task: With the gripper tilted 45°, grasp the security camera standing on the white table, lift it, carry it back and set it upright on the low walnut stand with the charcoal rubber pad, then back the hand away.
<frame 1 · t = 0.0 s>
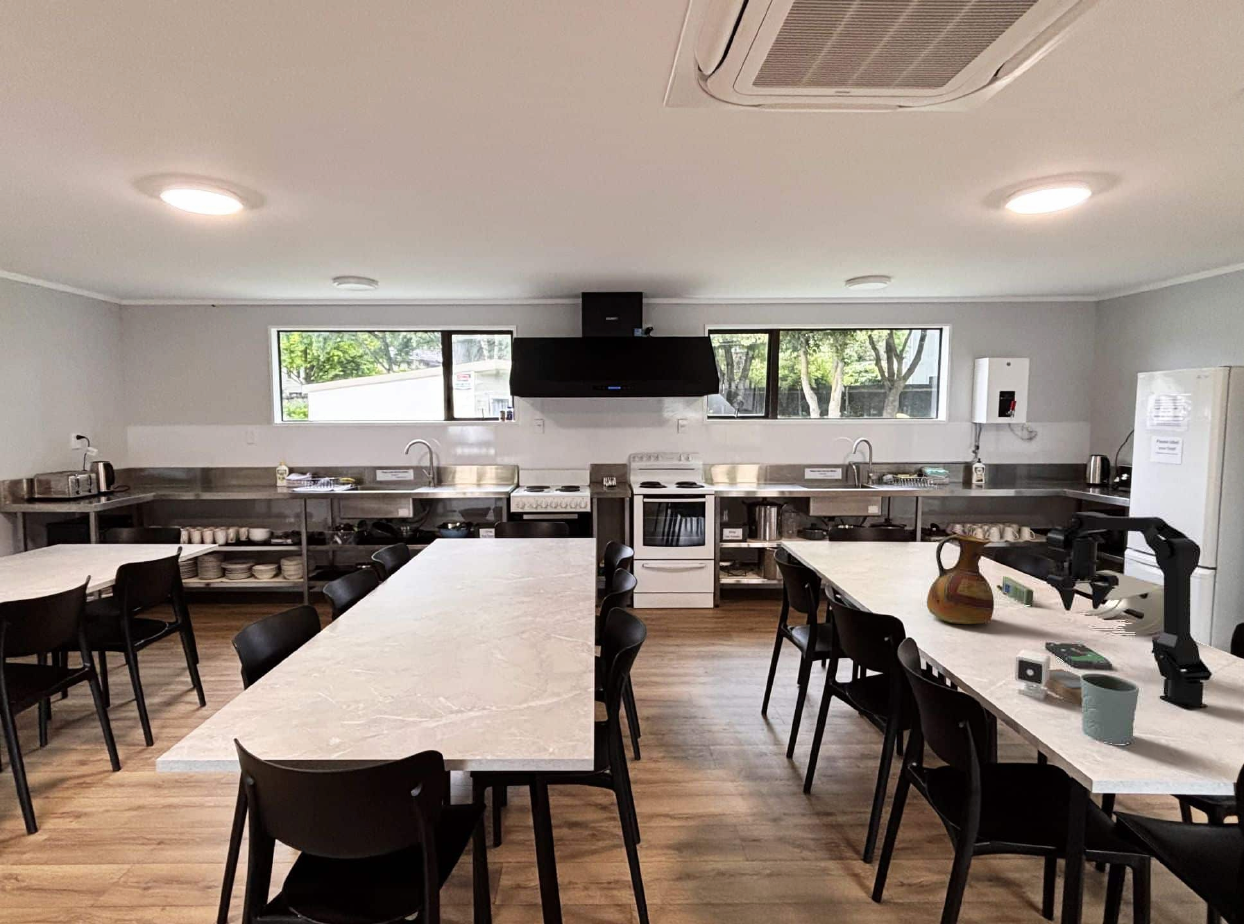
hand: (1081, 609, 179), 15 cm above the table, tool pointing down, fingers open, 9 cm apart
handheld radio: (1012, 598, 244), on the table
walnut stand: (1069, 692, 158), on the table
disk drive: (1076, 661, 181), on the table
green plant pot: (1106, 736, 137), on the table
ceramic pitcher: (959, 621, 216), on the table
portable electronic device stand: (1109, 624, 213), on the table
security camera: (1031, 694, 157), on the table
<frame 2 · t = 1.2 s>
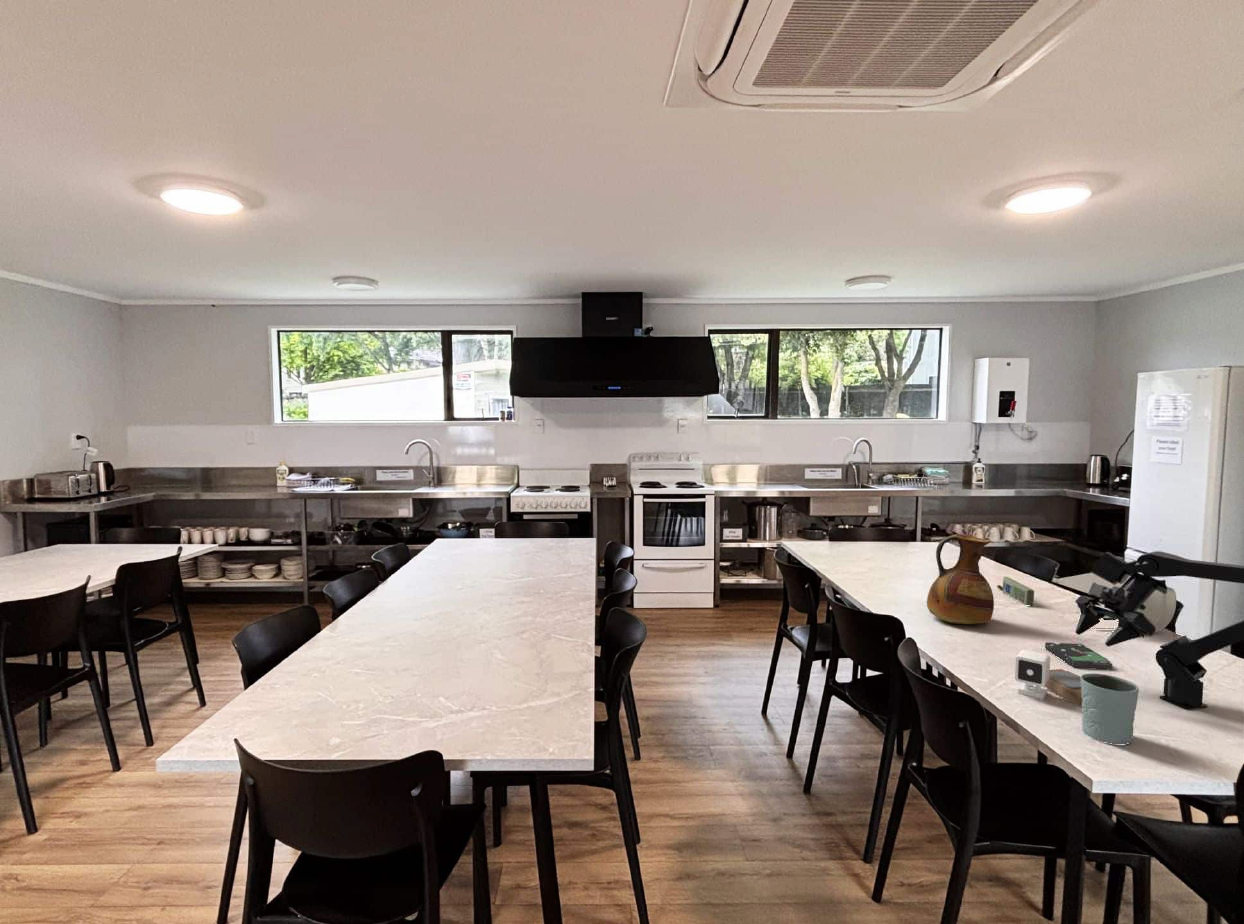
hand: (1091, 639, 158), 13 cm above the table, tool tilted 45°, fingers open, 9 cm apart
nothing on the table moved.
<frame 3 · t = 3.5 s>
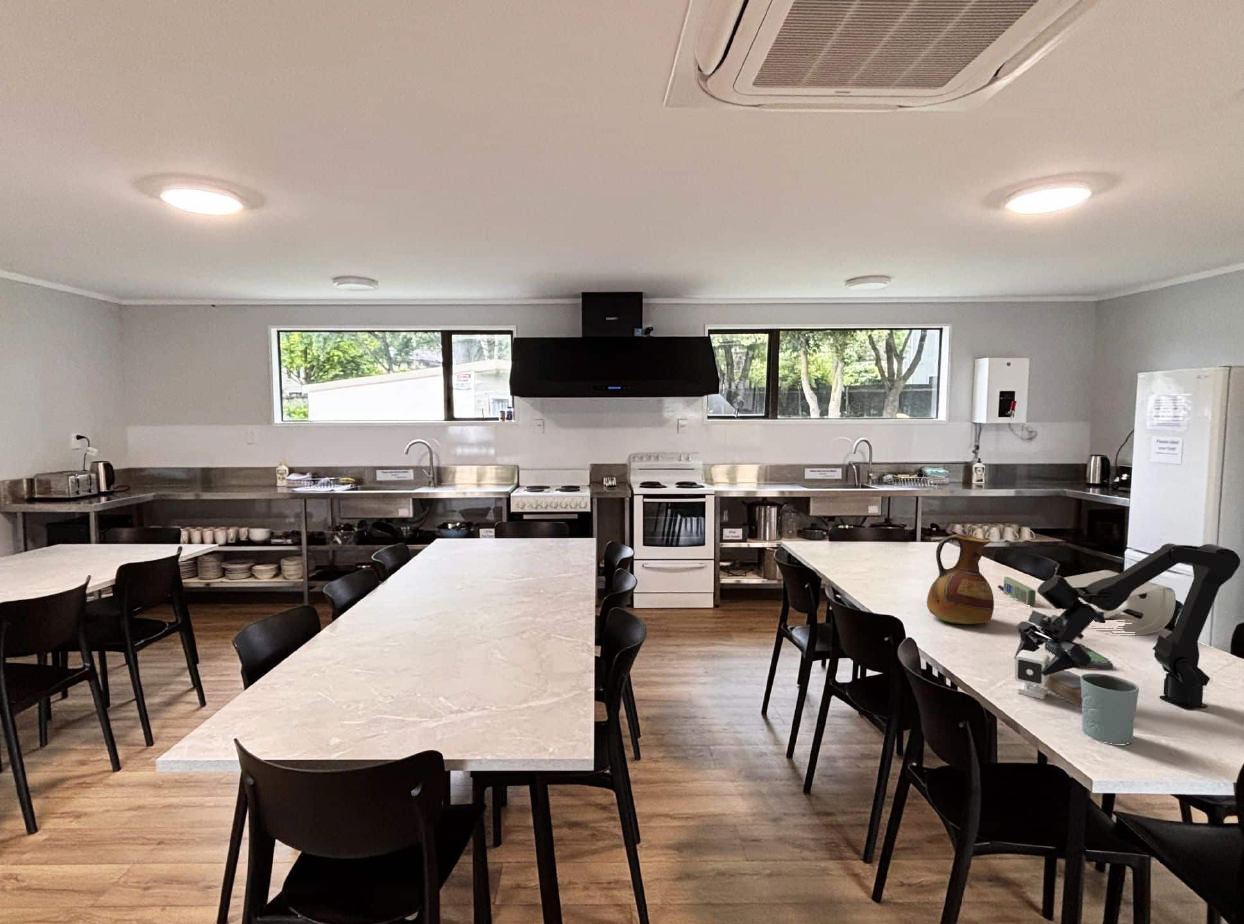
hand: (1028, 666, 157), 7 cm above the table, tool tilted 45°, fingers open, 9 cm apart
security camera: (1031, 694, 157), on the table, touching gripper
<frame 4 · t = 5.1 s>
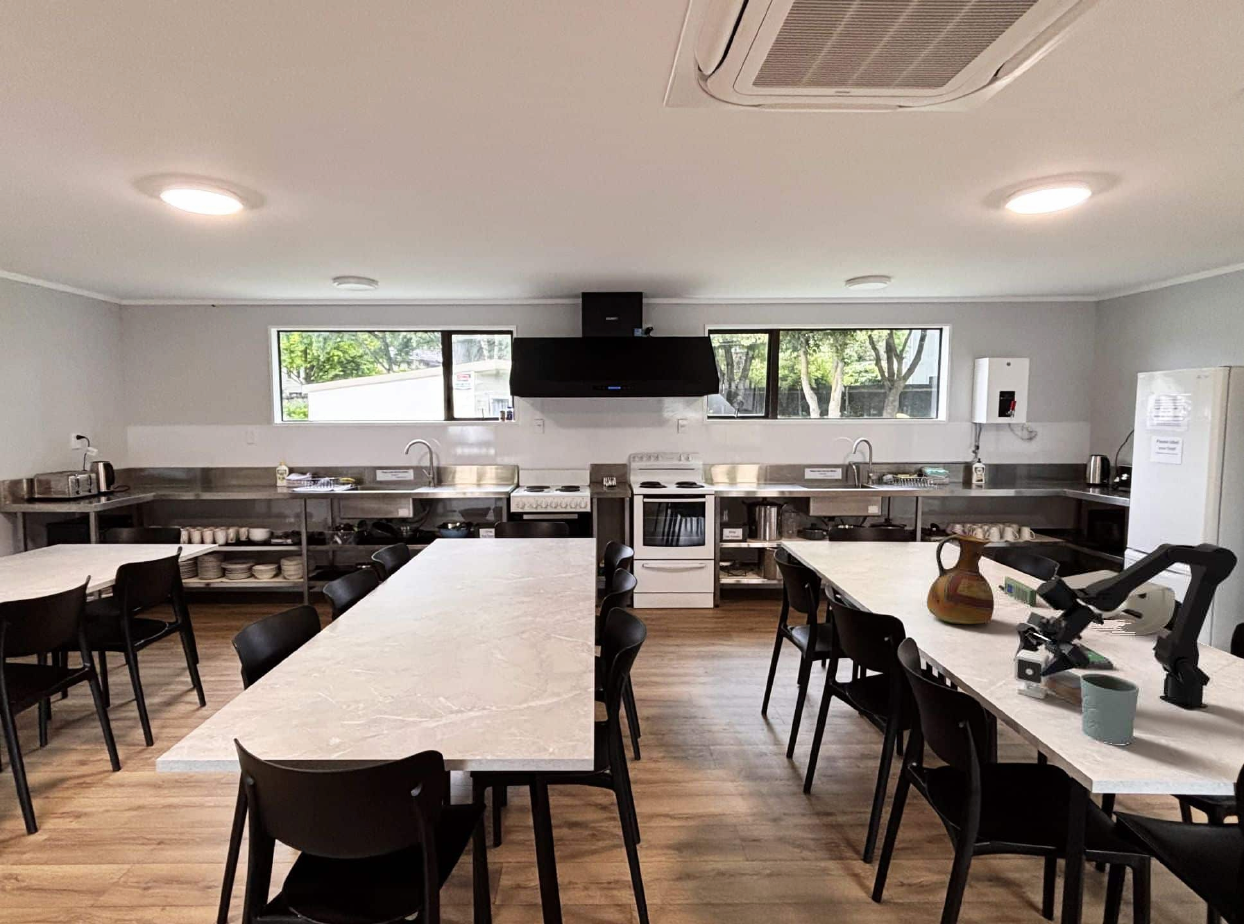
hand: (1027, 668, 157), 7 cm above the table, tool tilted 45°, fingers closed on security camera, 8 cm apart
security camera: (1031, 694, 157), on the table, touching gripper
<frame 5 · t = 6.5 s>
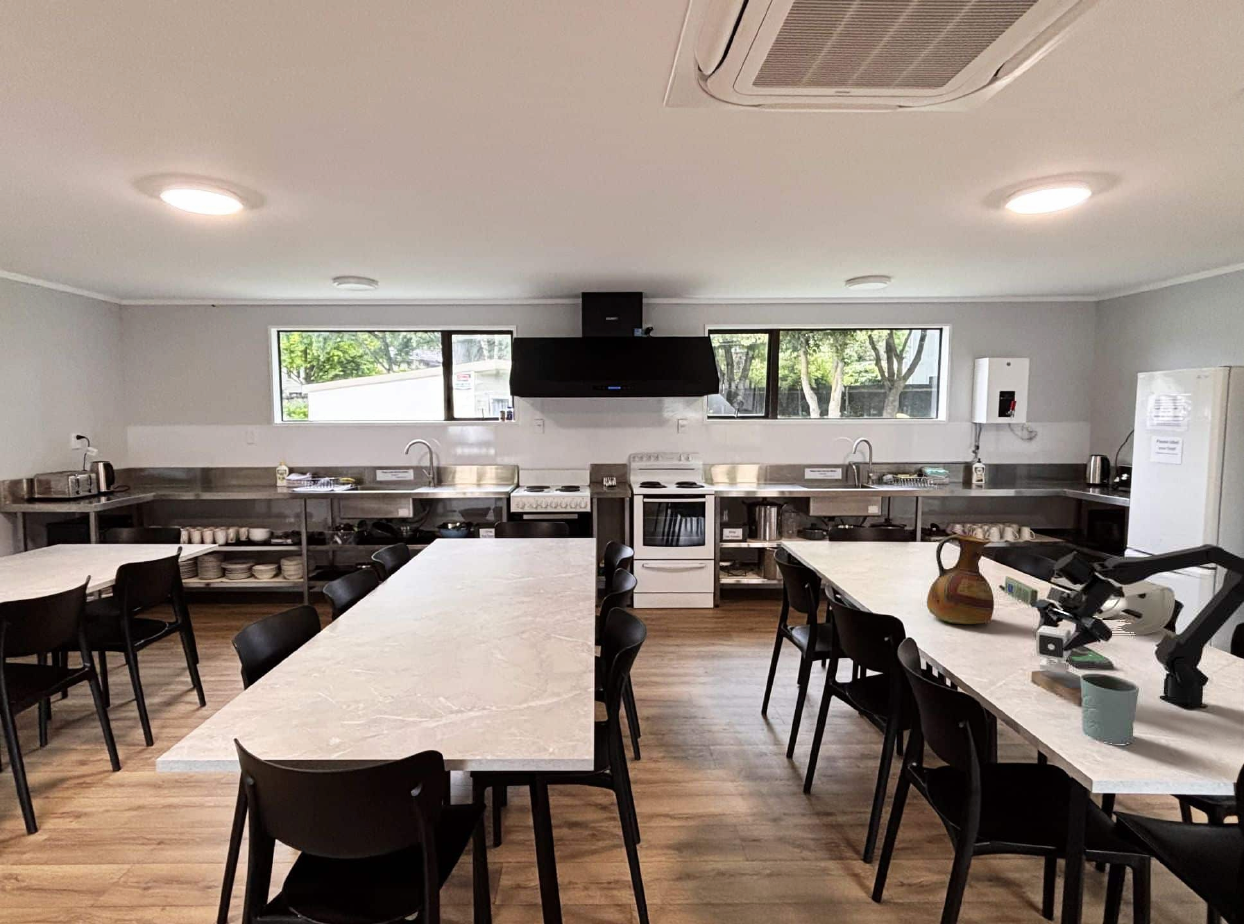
hand: (1049, 643, 157), 13 cm above the table, tool tilted 45°, fingers closed on security camera, 8 cm apart
security camera: (1053, 669, 157), point 6 cm above the table, touching gripper
when the fingers open (11 cm above the table, at t = 8.4 s): security camera drops 1 cm, resting on walnut stand.
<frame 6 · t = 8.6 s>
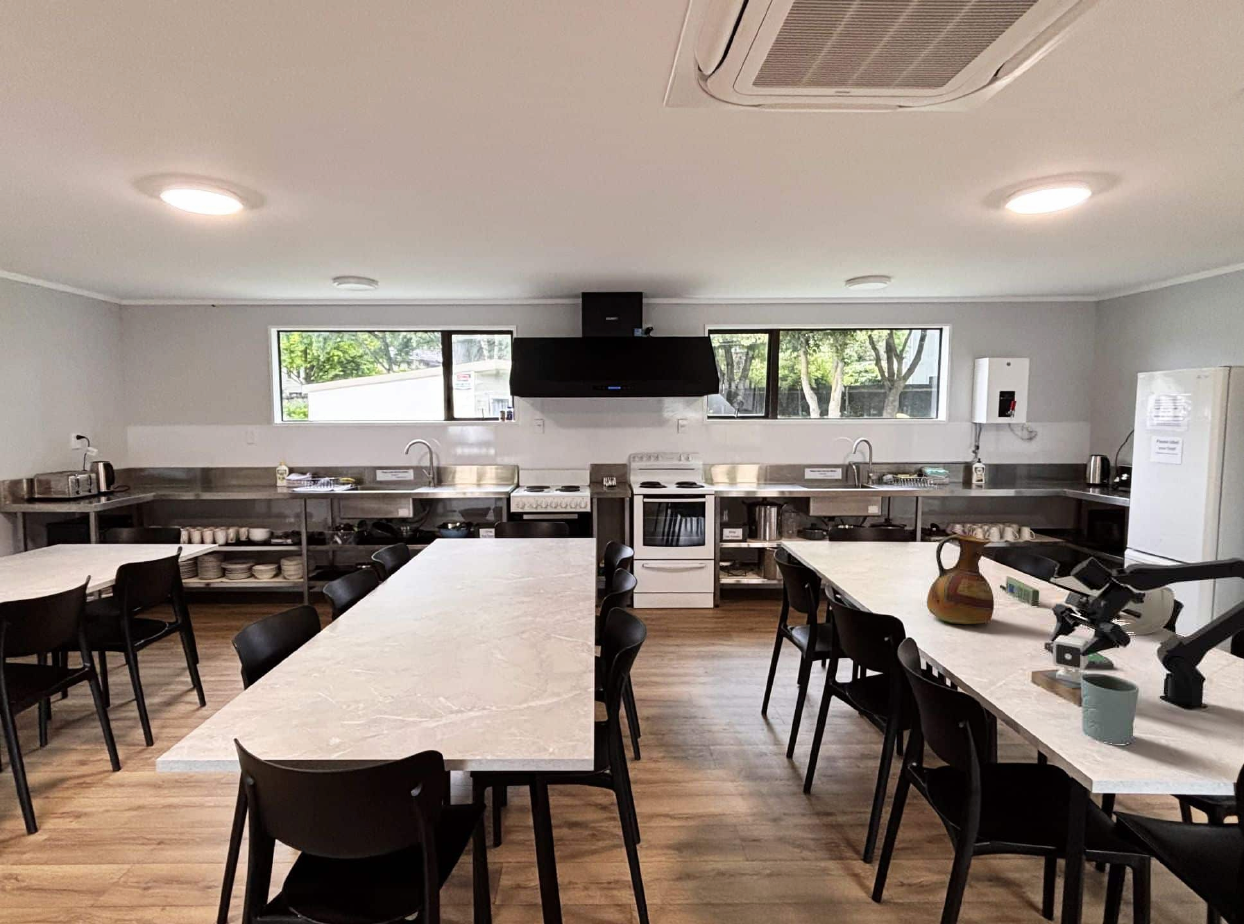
hand: (1066, 648, 157), 11 cm above the table, tool tilted 45°, fingers open, 9 cm apart
security camera: (1070, 679, 158), point 3 cm above the table, touching gripper, walnut stand
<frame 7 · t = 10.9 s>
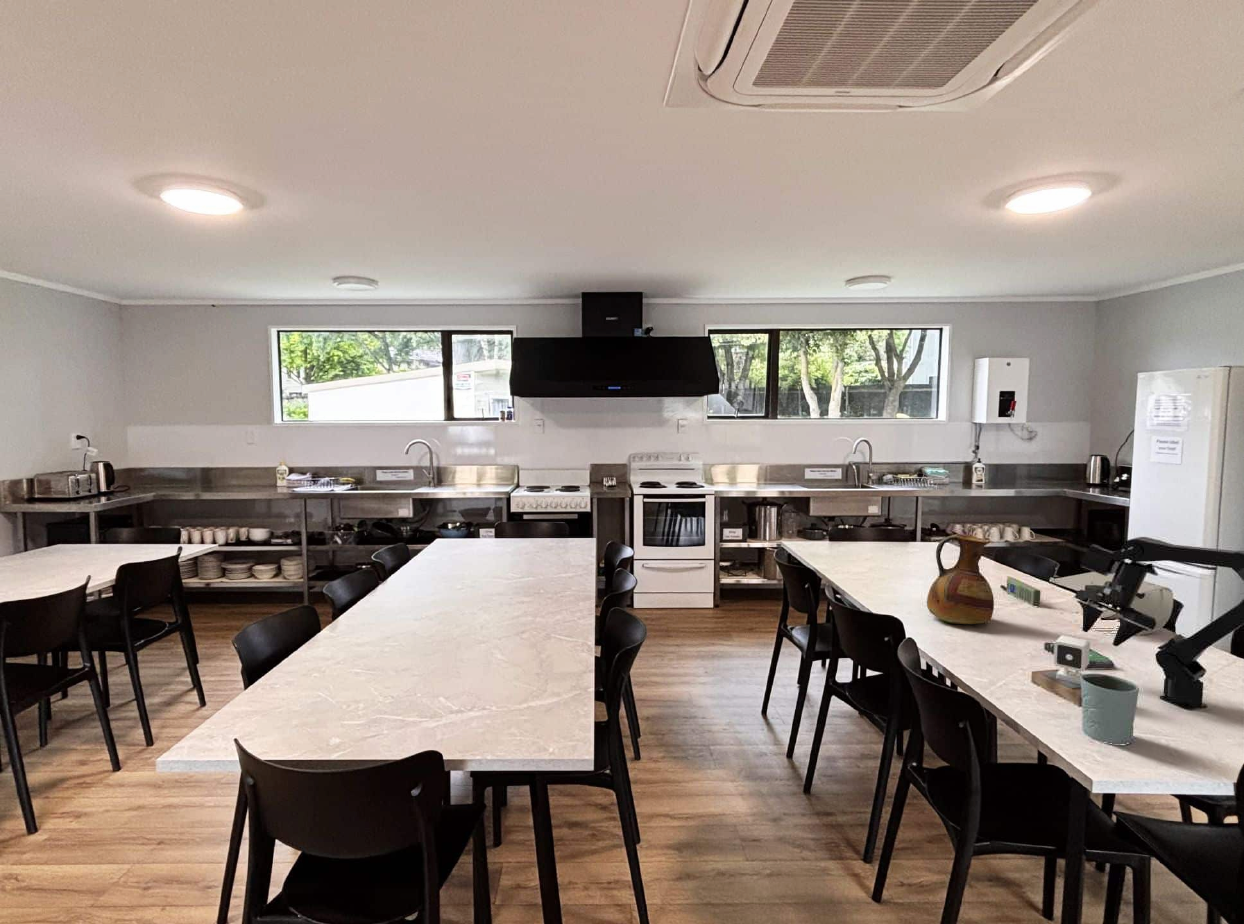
hand: (1099, 638, 161), 13 cm above the table, tool tilted 25°, fingers open, 9 cm apart
security camera: (1070, 680, 158), point 3 cm above the table, touching walnut stand
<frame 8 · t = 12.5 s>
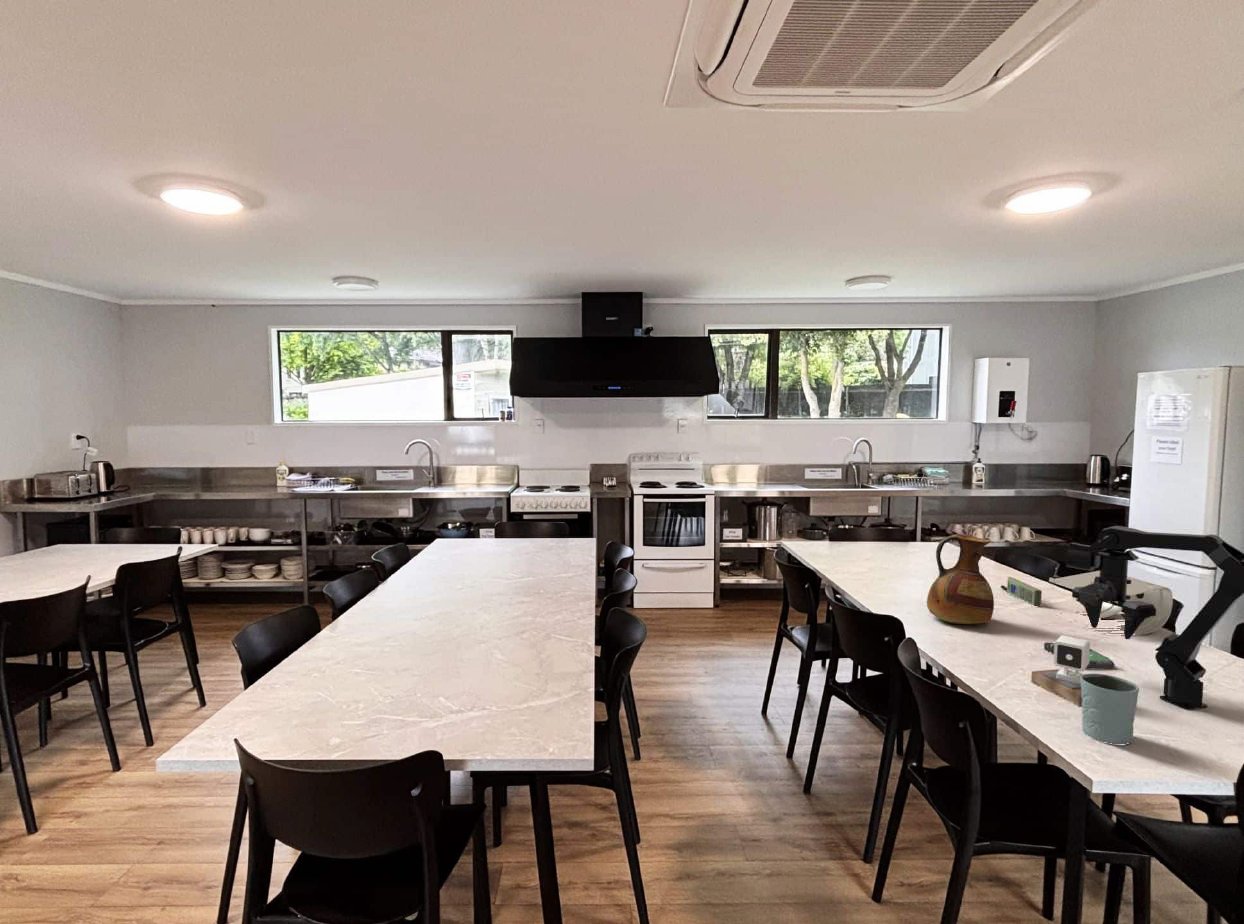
hand: (1110, 633, 164), 13 cm above the table, tool pointing down, fingers open, 9 cm apart
at the end: security camera inside the target area on the walnut stand (0.2 cm from its centre), point 3.3 cm above the walnut stand's base; security camera tilted 0°; the gripper is holding nothing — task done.
